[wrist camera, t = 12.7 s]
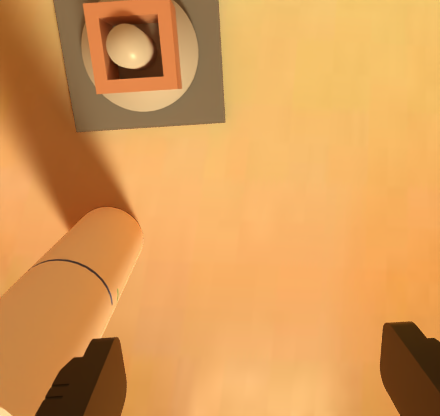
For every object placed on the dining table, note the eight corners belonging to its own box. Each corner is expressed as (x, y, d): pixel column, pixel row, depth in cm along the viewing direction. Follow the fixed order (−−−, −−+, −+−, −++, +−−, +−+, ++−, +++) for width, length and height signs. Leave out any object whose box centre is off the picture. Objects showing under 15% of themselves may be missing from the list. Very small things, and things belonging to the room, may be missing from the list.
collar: (175, 8, 32) (169, -3, 28) (182, 88, 34) (177, 88, 30) (98, 13, 32) (82, 3, 28) (110, 93, 34) (96, 94, 30)
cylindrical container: (133, 200, 39) (4, 377, 16) (150, 262, 42) (60, 499, 18) (67, 213, 40) (-158, 405, 16) (87, 274, 42) (-83, 521, 18)
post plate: (216, -32, 33) (216, -65, 26) (225, 121, 37) (226, 129, 30) (56, -21, 33) (11, -50, 26) (82, 130, 37) (49, 140, 30)
